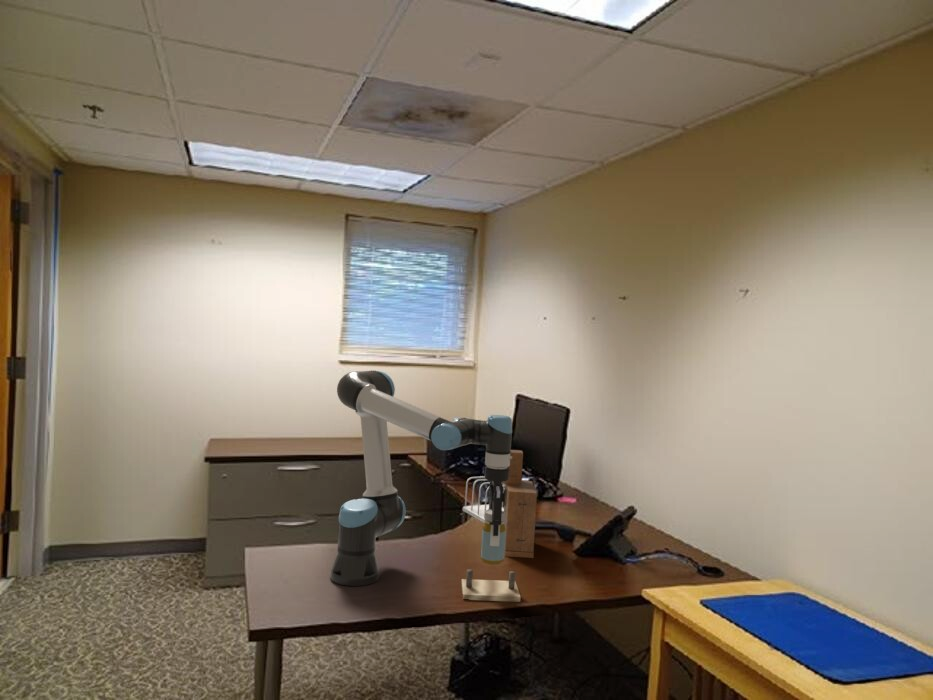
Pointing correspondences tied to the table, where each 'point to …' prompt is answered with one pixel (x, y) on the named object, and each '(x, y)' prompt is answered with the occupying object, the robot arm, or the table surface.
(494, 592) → the peg stand
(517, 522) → the tan tall stacked block
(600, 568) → the table surface
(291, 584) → the table surface
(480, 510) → the file sorter
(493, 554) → the bottle
